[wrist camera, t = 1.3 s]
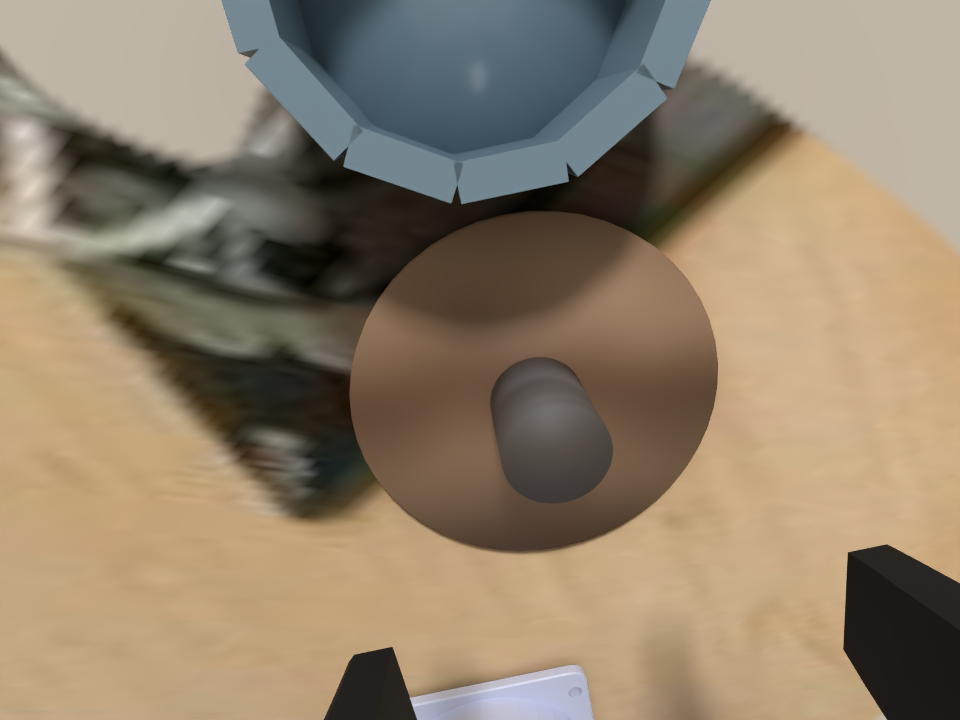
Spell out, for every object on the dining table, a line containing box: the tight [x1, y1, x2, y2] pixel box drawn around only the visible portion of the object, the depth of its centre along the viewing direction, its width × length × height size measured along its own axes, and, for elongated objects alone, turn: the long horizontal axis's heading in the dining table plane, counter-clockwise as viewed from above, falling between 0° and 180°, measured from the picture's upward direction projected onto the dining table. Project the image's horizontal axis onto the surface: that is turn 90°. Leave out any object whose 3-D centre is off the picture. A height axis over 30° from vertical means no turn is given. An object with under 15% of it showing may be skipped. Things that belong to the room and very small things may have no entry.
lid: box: [350, 211, 718, 551], centre depth 17 cm, size 11×11×4 cm
